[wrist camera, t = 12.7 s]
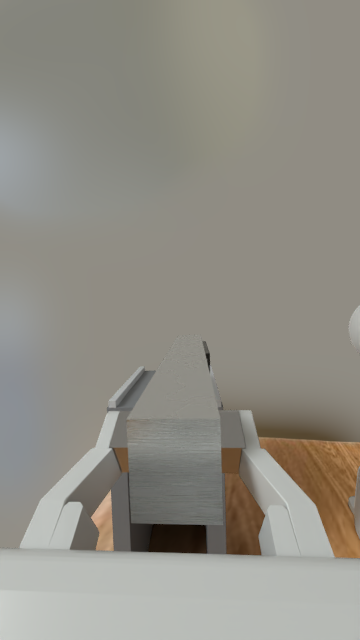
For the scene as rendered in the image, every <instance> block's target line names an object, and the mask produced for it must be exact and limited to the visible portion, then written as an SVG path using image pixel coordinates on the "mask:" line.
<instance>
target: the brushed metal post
mask: <svg viewBox="0 0 360 640" xmlns="http://www.w3.org/2000/svg"><path fill="white" fill-rule="evenodd" d="M127 442H128V464H129V487H130V509H131V523H141V524H188V525H223V501H222V464H221V426H220V415H219V411H218V406H217V402H216V398H215V394H214V389H213V385H212V381H211V376H210V353H209V350H208V347H207V344H206V342H205V341H202V338H201V335H186V336H177V338H176V340H175V341H174V343H173V344H172V346H171V348H170V349H169V351H168V353H167V354H166V356H165V358H164V359H163V361H162V362H161V364H160V366H159V367H158V369H157V371H156V372H155V374H154V375H153V377H152V378H151V380H150V382H149V383H148V385H147V387H146V388H145V390H144V391H143V393H142V395H141V396H140V398H139V400H138V401H137V403H136V404H135V406H134V408H133V409H132V411H131V413H130V414H129V416H128V417H127Z"/></svg>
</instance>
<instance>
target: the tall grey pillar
mask: <svg viewBox="0 0 360 640" xmlns="http://www.w3.org/2000/svg"><path fill="white" fill-rule="evenodd" d="M155 372H156V371H145V367H144V366H143V367H139V368H138V369H137V371H136V372H135V373H134V374H133V375H132V376H131V377H130V378H129V379H128V380H127V381H126V382H125V384H124V385H123V386H122V387H121V388H120V389H119V390H118V391H117V392H116V393H115V394H114V396H113V397H112V398H111V399H110V400H109V406H108V408H107V413H108V412H109V411H132V409H133V408H134V406H135V404H136V403H137V401H138V400H139V398H140V396H141V395H142V393H143V391H144V390H145V388H146V387H147V385H148V383H149V382H150V380H151V378H152V377H153V375H154V374H155ZM210 376H211V381H212V385H213V389H214V394H215V398H216V402H217V406H218V410H223V405H222V402H221V398H220V394H219V391H218V387H217V384H216V381H215V377H214V374H213V370H212V367H211V365H210ZM111 500H112V521H113V542H114V551H130V552H148V548H149V543H150V537H151V532H152V527H153V524H141V523H131V509H130V487H129V472H123V473H122V474H121V476H120V477H119V478H118V480H117V481H116V483H115V484H114V485H113V487H112V488H111ZM222 501H223V525H206V544H207V554H226V512H225V473H222Z"/></svg>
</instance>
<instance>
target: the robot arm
mask: <svg viewBox="0 0 360 640" xmlns="http://www.w3.org/2000/svg"><path fill="white" fill-rule="evenodd" d="M349 336H350V340H351V342H352V344H353V346H354V348H355V349H356V351H357V352H358V353H359V354H360V305H359V307H357V309H356V310H355V311H354V313H353V315H352V317H351V319H350V323H349ZM218 411H219V415H220V426H221V464H222V473H236V474H239V476H240V478H241V479H242V481H243V482H244V484H245V485H246V487H247V488H248V490H249V491H250V493H251V494H252V496H253V497H254V499H255V500H256V502H257V503H258V505H259V507H260V508H261V510H262V511H263V513H264V514H265V518H264V521H263V524H262V527H261V530H260V533H259V542H260V548H261V554H262V555H231V554H197V553H163V552H130V551H96V550H95V549H96V545H97V541H98V537H99V531H98V528H97V527H96V525H95V524H94V522H93V521H92V519H91V516H92V515H93V513H94V512H95V511H96V509H97V508H98V506H99V505H100V504H101V502H102V501H103V499H104V498H105V497H106V495H107V494H108V492H109V491H110V490H111V488H112V487H113V485H114V484H115V483H116V481H117V480H118V478H119V477H120V476H121V474H122V473H123V472H129V464H128V442H127V417H128V416H129V414H130V413H131V411H109V412H108V413H107V415H106V418H105V421H104V424H103V427H102V430H101V432H100V435H99V438H98V441H97V444H96V447H95V448H92V449H91V450H90V451H89V452H88V453H87V454H86V455H85V456H84V457H83V458H82V459H81V460H80V461H79V462H78V463H77V464H76V465H75V466H74V467H73V468H72V469H71V470H70V471H69V472H68V473H67V474H66V475H65V476H64V477H63V478H62V479H61V480H60V481H59V482H58V483H57V484H56V485H55V486H54V487H53V488H52V489H51V490H50V491H49V492H48V493H47V494H46V495H45V496H44V497H43V498H42V499H41V500H40V502H39V504H38V507H37V509H36V511H35V513H34V516H33V518H32V520H31V522H30V525H29V527H28V529H27V531H26V533H25V536H24V538H23V540H22V542H21V545H20V547H19V548H0V640H360V558H335V557H334V554H333V551H332V549H331V546H330V543H329V540H328V538H327V535H326V532H325V529H324V527H323V524H322V521H321V519H320V516H319V513H318V510H317V508H316V505H315V504H314V503H313V502H312V501H311V499H310V498H309V497H308V496H307V495H306V494H305V493H304V492H303V491H302V490H301V488H300V487H299V486H298V485H297V484H296V483H295V482H294V481H293V480H292V479H291V477H290V476H289V475H288V474H287V473H286V472H285V471H284V470H283V469H282V467H281V466H280V465H279V464H278V463H277V462H276V461H275V460H274V459H273V458H272V456H271V455H270V454H269V453H268V452H267V451H266V450H265V449H261V447H260V443H259V439H258V435H257V431H256V428H255V423H254V420H253V415H252V412H251V411H250V410H218ZM348 505H349V507H350V509H351V511H352V512H353V514H354V517H355V528H356V532H357V534H358V536H359V538H360V466H359V468H358V474H357V483H356V492H355V496H352V497H349V501H348Z"/></svg>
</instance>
